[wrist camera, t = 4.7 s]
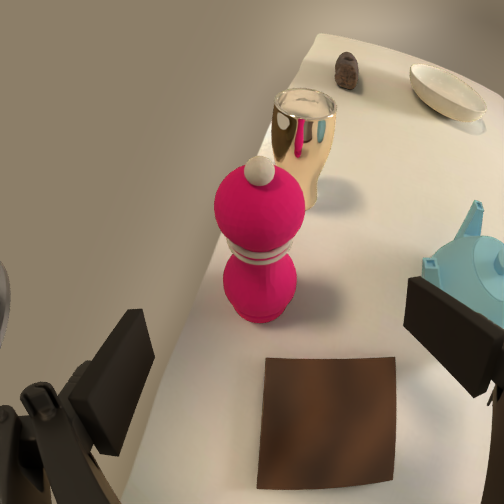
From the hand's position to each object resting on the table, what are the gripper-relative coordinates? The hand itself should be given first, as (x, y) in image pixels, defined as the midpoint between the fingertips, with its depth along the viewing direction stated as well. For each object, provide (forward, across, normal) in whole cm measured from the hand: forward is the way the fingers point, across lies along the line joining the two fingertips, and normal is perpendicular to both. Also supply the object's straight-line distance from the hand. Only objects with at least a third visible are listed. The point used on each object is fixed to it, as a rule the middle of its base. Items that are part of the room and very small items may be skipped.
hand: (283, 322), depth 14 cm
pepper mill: (+19, 0, -7) cm, 20 cm away
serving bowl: (+48, +50, +22) cm, 73 cm away
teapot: (+16, +26, -10) cm, 32 cm away
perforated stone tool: (+54, +26, +28) cm, 66 cm away
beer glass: (+29, +6, +3) cm, 30 cm away
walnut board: (+8, +5, -17) cm, 20 cm away
